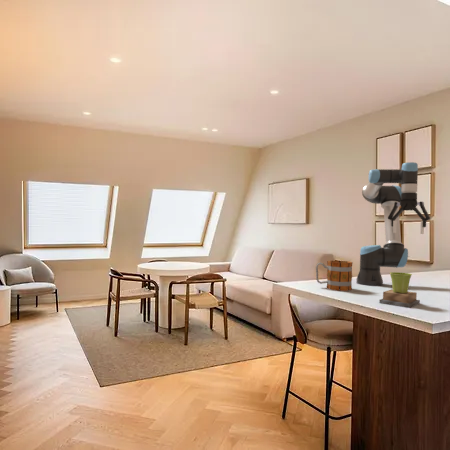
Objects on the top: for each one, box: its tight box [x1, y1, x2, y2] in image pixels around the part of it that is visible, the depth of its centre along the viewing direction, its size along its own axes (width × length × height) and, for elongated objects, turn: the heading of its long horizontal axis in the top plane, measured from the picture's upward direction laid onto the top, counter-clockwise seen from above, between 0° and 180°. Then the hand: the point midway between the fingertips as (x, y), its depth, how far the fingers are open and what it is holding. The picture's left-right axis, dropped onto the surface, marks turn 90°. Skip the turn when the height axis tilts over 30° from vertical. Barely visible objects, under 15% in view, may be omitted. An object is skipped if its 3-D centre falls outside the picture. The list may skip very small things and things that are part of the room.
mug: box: [315, 260, 353, 292], centre depth 214 cm, size 20×14×15 cm
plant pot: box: [389, 271, 413, 293], centre depth 177 cm, size 9×9×9 cm
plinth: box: [378, 288, 421, 308], centre depth 177 cm, size 13×14×5 cm
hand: (408, 233), depth 201 cm, fingers open, 13 cm apart
